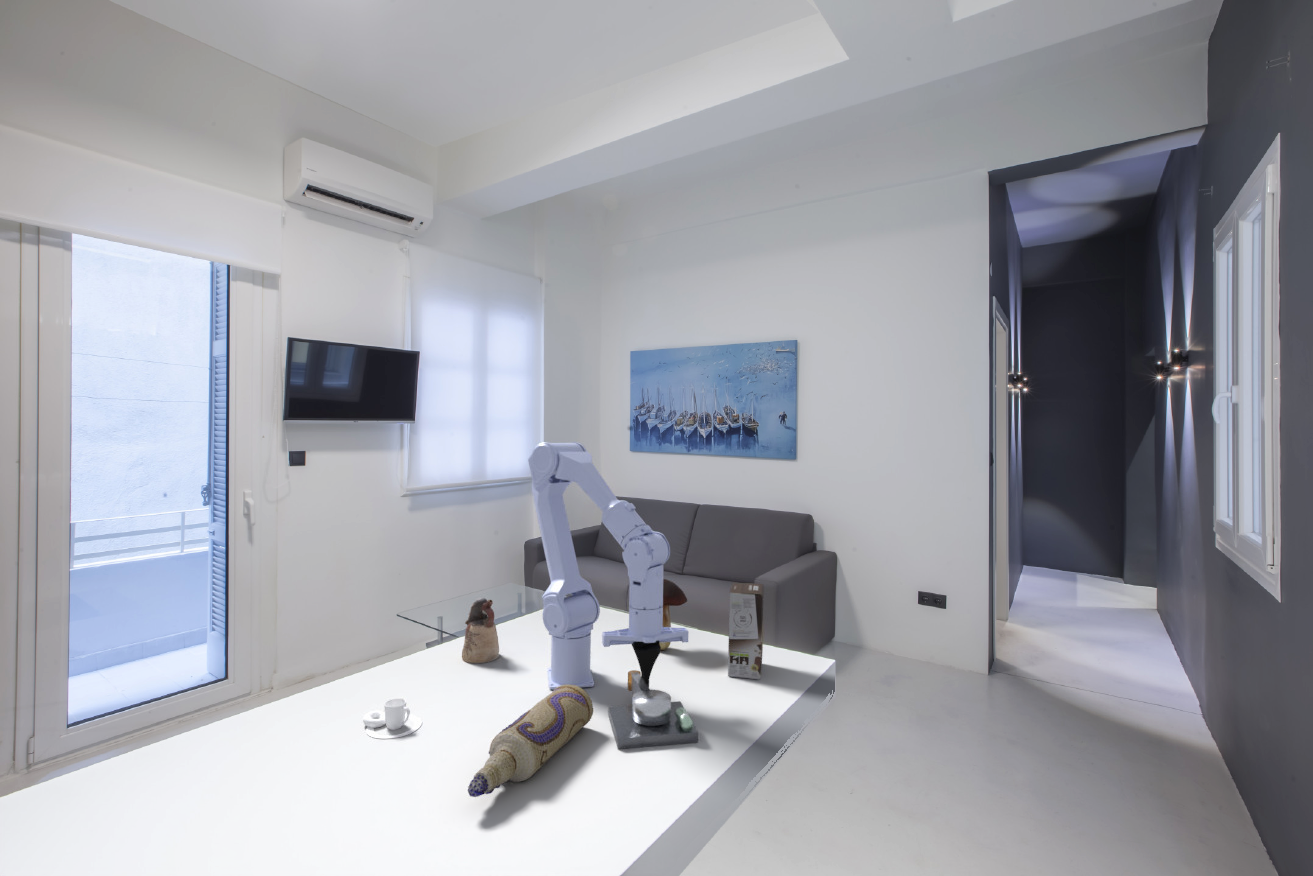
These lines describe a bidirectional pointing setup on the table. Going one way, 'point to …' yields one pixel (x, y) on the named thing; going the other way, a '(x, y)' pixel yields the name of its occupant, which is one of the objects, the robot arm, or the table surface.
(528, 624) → the table surface
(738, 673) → the coffee box
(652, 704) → the silver pan
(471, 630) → the figurine
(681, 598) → the decorative mushroom
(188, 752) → the table surface
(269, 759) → the table surface
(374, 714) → the teacup and saucer
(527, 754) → the decorative bottle
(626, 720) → the plate
